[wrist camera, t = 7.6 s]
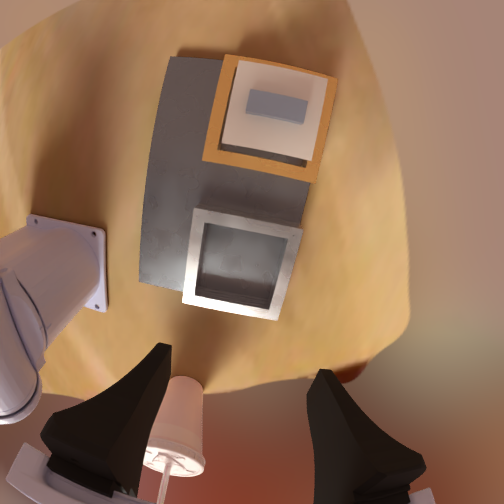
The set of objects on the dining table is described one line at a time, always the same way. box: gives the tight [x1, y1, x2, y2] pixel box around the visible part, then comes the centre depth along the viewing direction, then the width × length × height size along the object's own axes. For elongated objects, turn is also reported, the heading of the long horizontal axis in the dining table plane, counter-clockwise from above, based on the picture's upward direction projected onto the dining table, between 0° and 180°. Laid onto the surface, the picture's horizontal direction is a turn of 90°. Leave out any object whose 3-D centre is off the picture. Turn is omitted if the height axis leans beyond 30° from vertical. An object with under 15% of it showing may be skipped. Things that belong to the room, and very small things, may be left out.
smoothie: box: [143, 376, 205, 504], centre depth 20 cm, size 6×6×14 cm
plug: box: [222, 60, 328, 161], centre depth 13 cm, size 4×4×7 cm
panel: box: [139, 54, 338, 320], centre depth 18 cm, size 11×17×2 cm, turn 168°
